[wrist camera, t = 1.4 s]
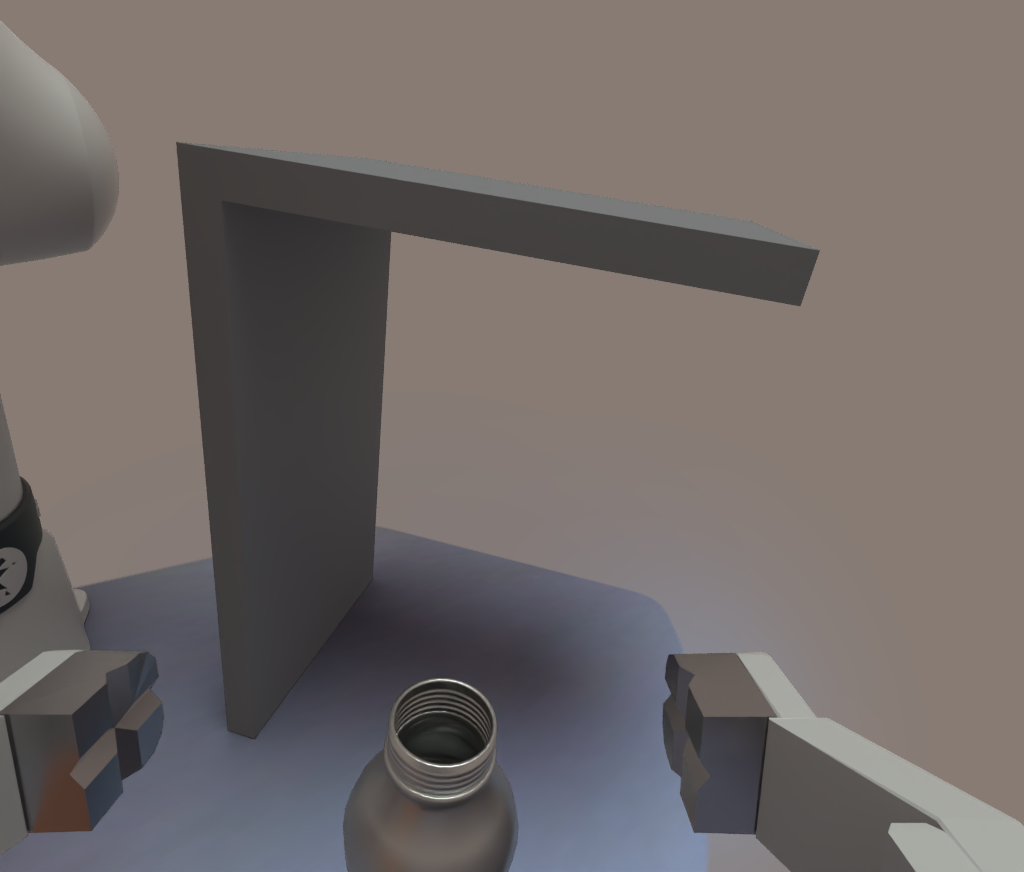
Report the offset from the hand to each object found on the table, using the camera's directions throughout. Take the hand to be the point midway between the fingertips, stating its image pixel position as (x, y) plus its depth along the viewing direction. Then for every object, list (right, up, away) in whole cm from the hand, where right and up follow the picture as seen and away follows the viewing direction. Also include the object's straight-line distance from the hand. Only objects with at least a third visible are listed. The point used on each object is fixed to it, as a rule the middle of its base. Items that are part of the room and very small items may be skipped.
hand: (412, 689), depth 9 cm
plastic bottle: (-4, -24, +19) cm, 31 cm away
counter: (-3, -15, +37) cm, 40 cm away
